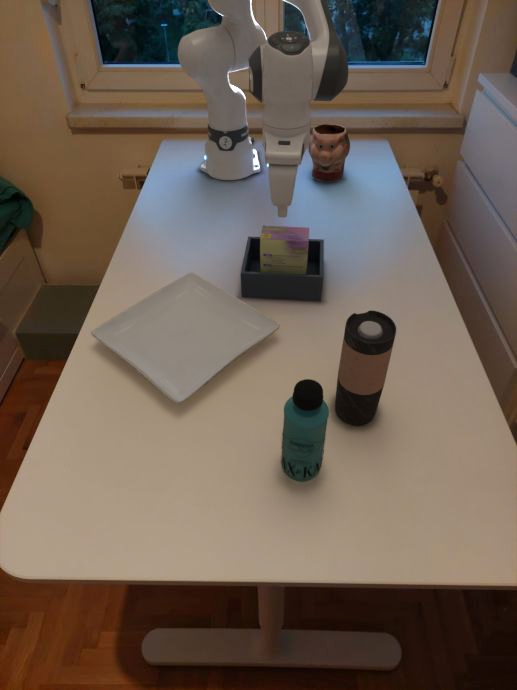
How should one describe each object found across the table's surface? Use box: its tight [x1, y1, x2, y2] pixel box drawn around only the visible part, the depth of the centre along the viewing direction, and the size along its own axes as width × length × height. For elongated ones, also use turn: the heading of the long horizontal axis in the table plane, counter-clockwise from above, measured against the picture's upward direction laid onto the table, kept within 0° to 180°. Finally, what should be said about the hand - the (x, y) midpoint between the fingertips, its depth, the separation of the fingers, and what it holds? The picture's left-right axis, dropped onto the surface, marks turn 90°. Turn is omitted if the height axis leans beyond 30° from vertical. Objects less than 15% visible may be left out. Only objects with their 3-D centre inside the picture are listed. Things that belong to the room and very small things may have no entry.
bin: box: [240, 236, 325, 303], centre depth 114 cm, size 15×18×7 cm
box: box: [260, 225, 310, 274], centre depth 112 cm, size 10×6×12 cm, turn 84°
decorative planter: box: [307, 123, 351, 183], centre depth 149 cm, size 20×12×14 cm, turn 173°
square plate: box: [90, 272, 281, 405], centre depth 100 cm, size 27×27×4 cm
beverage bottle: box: [279, 378, 330, 483], centre depth 73 cm, size 6×7×20 cm
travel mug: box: [334, 309, 397, 427], centre depth 81 cm, size 8×8×20 cm
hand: (284, 203), depth 103 cm, fingers open, 8 cm apart
